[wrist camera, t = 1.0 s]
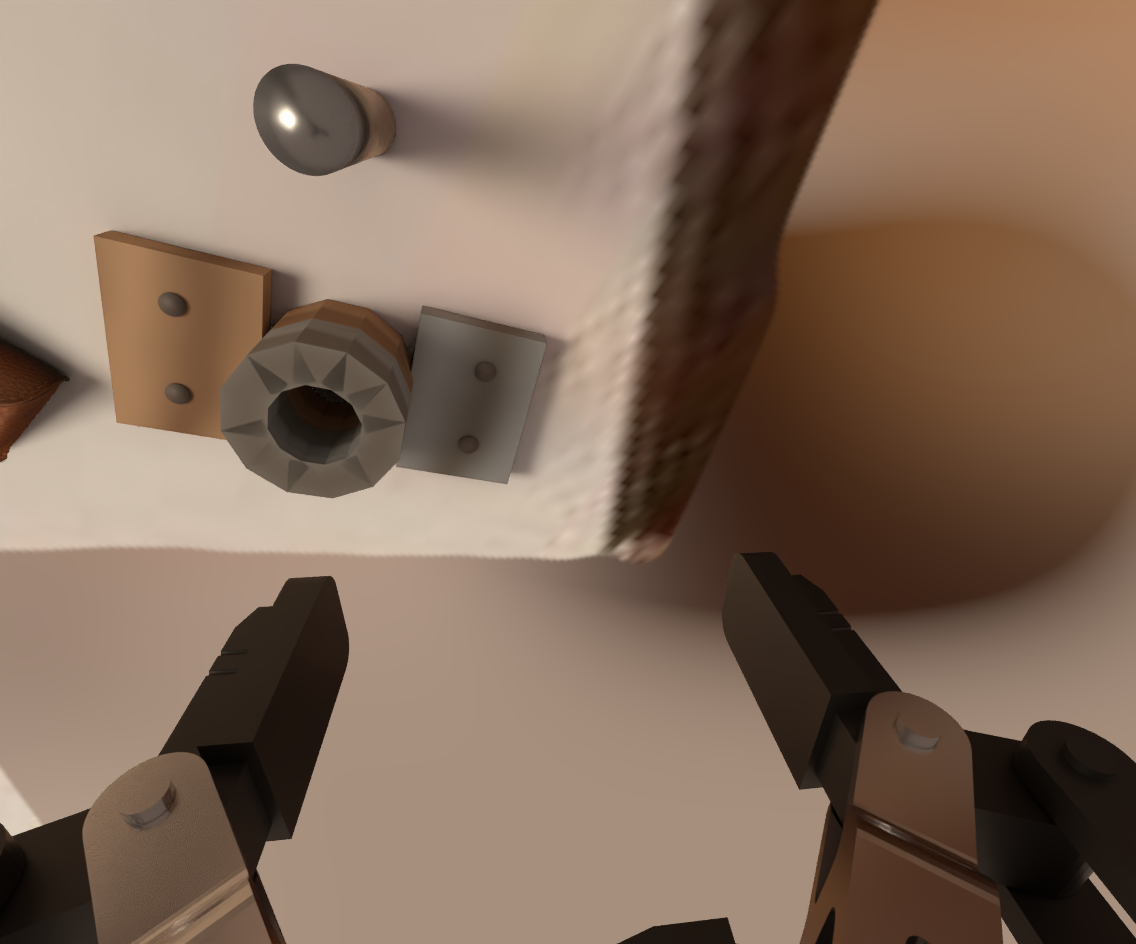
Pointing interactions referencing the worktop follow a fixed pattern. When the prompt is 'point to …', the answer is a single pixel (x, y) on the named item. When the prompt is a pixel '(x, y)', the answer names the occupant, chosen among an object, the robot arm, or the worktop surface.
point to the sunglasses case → (22, 392)
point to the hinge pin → (320, 120)
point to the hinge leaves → (307, 374)
